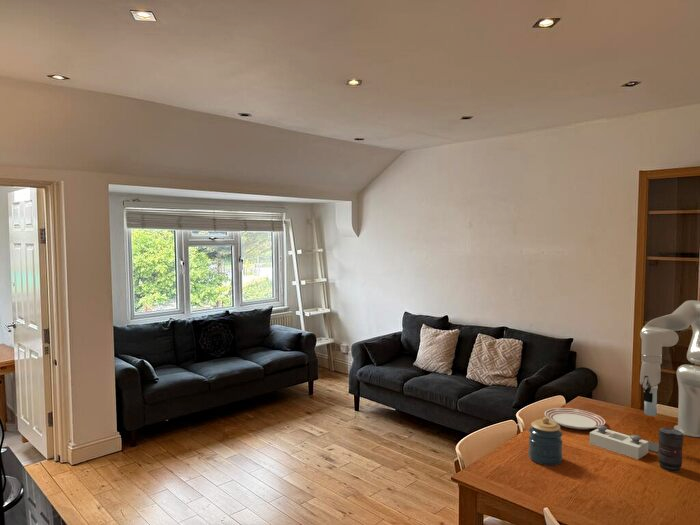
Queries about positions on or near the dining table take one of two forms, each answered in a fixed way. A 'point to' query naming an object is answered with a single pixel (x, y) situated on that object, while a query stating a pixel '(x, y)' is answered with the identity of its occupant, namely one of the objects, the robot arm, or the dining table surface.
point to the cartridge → (651, 403)
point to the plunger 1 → (601, 428)
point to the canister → (545, 442)
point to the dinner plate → (574, 418)
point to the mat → (653, 447)
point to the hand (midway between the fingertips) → (650, 399)
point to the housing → (619, 443)
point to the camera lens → (670, 449)
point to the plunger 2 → (635, 439)
